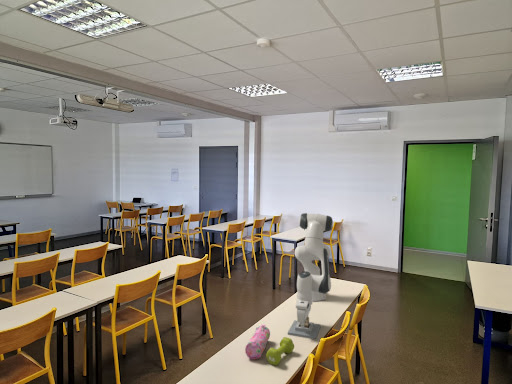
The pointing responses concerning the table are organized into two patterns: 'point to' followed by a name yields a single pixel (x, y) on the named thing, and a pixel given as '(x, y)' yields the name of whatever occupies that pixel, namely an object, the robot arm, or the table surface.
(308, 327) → the stack block
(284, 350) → the dumbbell
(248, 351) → the pencil case
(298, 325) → the socket board
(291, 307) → the table surface
